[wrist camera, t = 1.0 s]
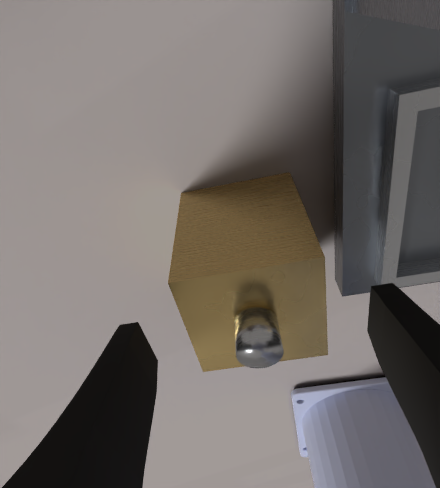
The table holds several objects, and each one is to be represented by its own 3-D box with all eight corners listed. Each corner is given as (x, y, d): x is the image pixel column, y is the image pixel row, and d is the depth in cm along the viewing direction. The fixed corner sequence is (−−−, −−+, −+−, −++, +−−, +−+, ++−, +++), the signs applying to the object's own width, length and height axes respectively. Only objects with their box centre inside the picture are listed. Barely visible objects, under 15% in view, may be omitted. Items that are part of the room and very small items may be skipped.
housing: (297, 257, 17) (337, 385, 11) (205, 272, 17) (202, 403, 12) (289, 171, 14) (337, 287, 9) (181, 192, 15) (163, 314, 9)
